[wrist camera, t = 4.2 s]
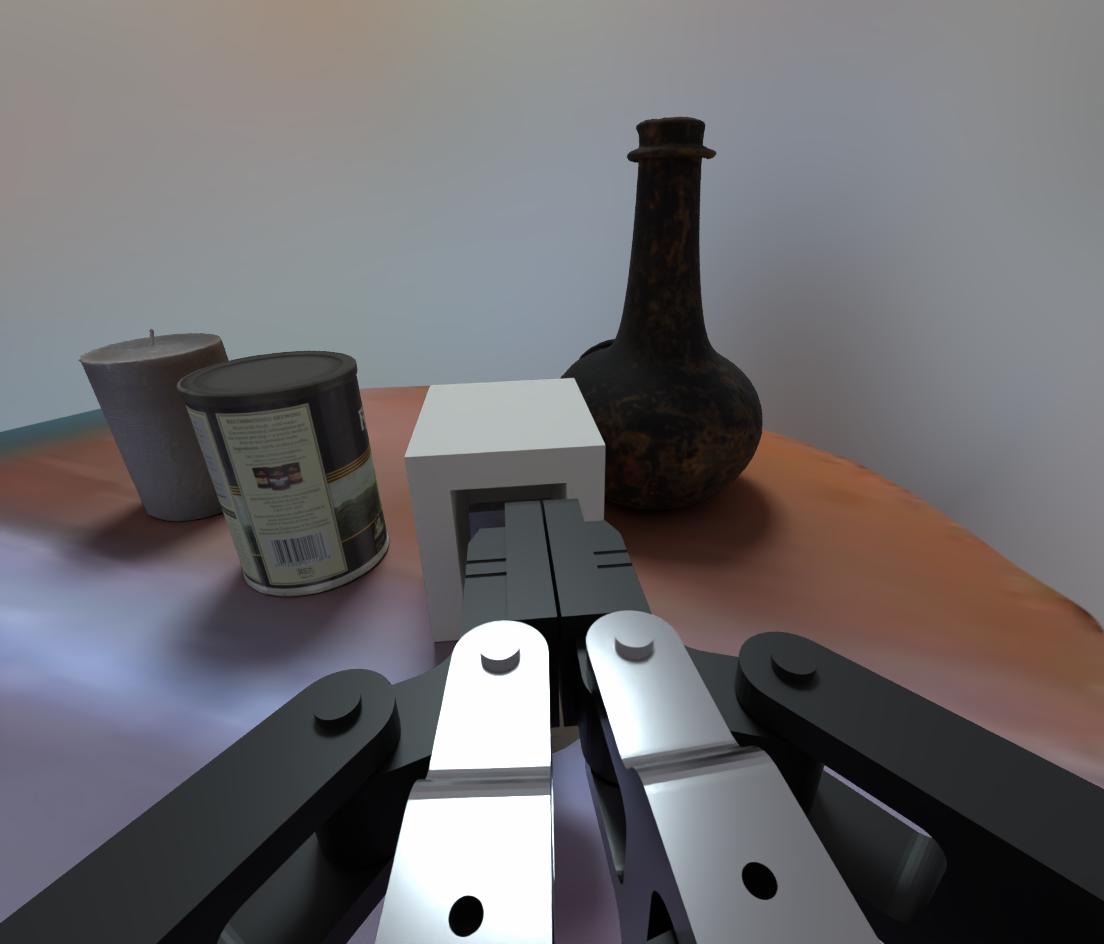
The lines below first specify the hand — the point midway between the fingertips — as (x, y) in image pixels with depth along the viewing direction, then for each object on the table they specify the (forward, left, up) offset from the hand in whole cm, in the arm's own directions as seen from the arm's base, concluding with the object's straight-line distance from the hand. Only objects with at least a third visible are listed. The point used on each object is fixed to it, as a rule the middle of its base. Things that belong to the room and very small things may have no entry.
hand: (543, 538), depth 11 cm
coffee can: (+10, +28, -17) cm, 34 cm away
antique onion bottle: (+33, +12, -17) cm, 39 cm away
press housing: (+16, +14, -17) cm, 27 cm away
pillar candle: (+10, +45, -17) cm, 49 cm away
